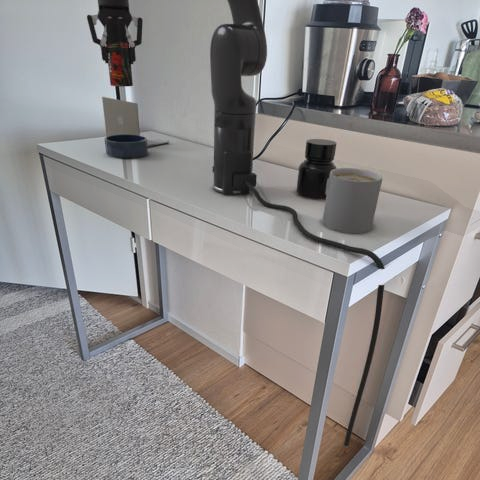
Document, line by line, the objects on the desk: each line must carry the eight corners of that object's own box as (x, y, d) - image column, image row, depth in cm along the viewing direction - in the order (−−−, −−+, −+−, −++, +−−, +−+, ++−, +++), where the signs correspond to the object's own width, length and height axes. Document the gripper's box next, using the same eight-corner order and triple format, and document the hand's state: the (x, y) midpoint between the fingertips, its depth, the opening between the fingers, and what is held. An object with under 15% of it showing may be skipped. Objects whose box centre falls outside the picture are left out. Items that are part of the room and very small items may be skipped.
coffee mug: (351, 237, 83) (361, 184, 77) (312, 221, 89) (319, 171, 84) (391, 223, 90) (403, 174, 85) (352, 209, 97) (361, 163, 91)
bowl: (149, 158, 127) (148, 142, 125) (106, 159, 125) (104, 142, 122) (146, 149, 137) (145, 134, 135) (106, 149, 135) (104, 134, 132)
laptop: (170, 143, 146) (168, 100, 139) (140, 148, 138) (136, 103, 130) (136, 135, 155) (132, 94, 148) (106, 139, 147) (101, 96, 140)
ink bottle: (336, 201, 101) (345, 147, 94) (298, 200, 101) (305, 145, 94) (328, 189, 109) (336, 138, 103) (293, 187, 109) (299, 136, 102)
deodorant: (137, 85, 119) (131, 19, 111) (121, 86, 115) (114, 18, 107) (121, 84, 122) (115, 19, 114) (105, 85, 117) (97, 17, 109)
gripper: (79, -20, 102) (90, 63, 111) (142, -16, 105) (147, 65, 114) (81, -17, 108) (92, 62, 117) (140, -13, 111) (146, 63, 120)
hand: (119, 63), depth 115 cm, fingers closed on deodorant, 6 cm apart
